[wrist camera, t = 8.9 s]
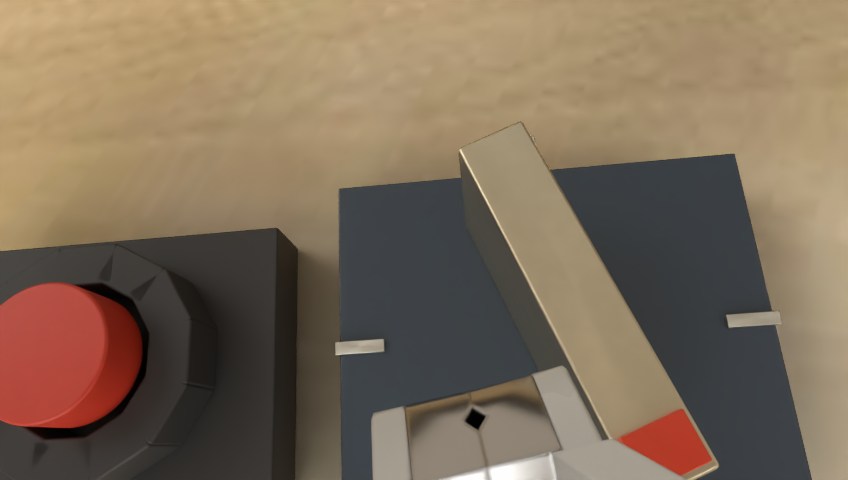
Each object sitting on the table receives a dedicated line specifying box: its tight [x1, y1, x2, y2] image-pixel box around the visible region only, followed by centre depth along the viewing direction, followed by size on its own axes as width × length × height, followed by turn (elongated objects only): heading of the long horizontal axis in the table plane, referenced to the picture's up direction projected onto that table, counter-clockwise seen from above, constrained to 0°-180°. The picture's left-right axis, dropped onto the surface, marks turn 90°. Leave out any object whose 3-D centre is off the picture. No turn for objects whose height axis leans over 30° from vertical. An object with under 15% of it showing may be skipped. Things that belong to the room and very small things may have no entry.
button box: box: [0, 228, 297, 480], centre depth 19 cm, size 10×8×4 cm
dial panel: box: [335, 136, 812, 480], centre depth 18 cm, size 12×12×3 cm
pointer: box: [459, 122, 719, 480], centre depth 15 cm, size 8×2×5 cm, turn 24°
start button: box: [0, 282, 143, 428], centre depth 16 cm, size 4×4×2 cm
